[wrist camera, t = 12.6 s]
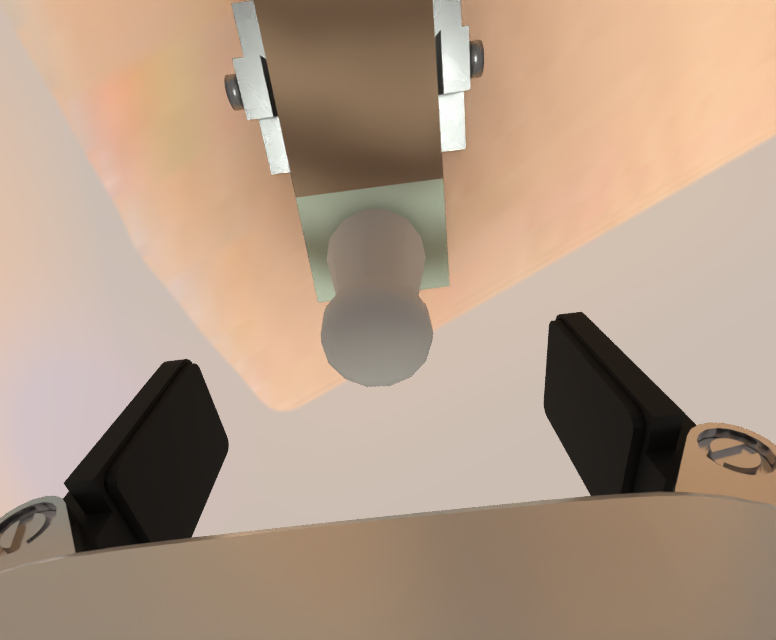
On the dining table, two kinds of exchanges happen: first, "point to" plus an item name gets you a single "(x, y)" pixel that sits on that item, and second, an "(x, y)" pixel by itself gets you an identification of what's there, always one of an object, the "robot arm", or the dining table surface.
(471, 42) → the beam stand
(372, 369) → the salt shaker
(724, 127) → the dining table surface
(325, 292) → the balance beam
